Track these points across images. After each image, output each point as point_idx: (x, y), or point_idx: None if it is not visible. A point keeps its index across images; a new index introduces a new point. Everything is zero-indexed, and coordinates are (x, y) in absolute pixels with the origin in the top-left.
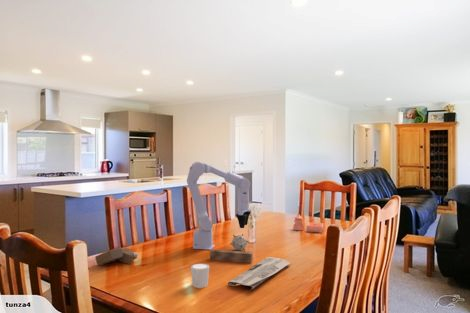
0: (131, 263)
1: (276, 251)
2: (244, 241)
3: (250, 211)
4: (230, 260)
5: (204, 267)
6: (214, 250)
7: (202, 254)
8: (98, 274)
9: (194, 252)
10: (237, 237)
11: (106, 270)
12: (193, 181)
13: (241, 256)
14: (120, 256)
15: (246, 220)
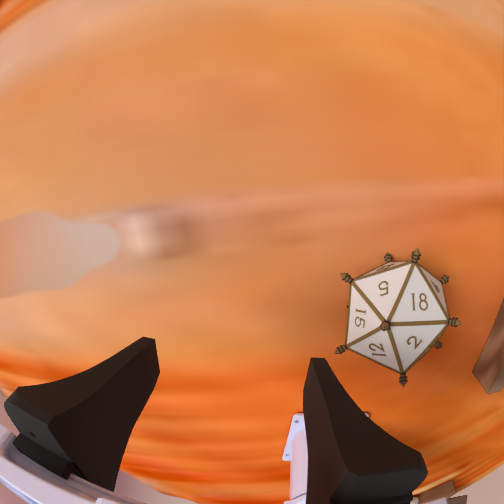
0: (451, 481)
1: (363, 44)
2: (429, 280)
3: (12, 407)
4: None
5: None
6: (501, 380)
7: (421, 414)
8: (481, 476)
9: None
10: (430, 345)
11: (468, 481)
12: None
13: None
14: (448, 500)
15: (131, 376)
